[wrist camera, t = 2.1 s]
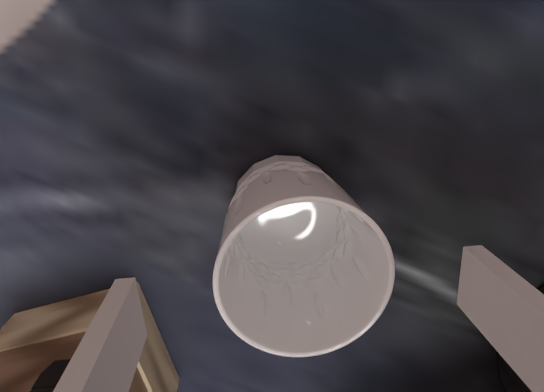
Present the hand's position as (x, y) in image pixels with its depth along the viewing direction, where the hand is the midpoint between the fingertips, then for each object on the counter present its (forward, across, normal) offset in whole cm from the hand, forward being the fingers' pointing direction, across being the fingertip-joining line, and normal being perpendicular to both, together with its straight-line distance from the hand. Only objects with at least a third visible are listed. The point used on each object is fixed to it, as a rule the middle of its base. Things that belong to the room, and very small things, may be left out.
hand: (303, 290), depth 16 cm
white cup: (+11, 0, 0) cm, 11 cm away
